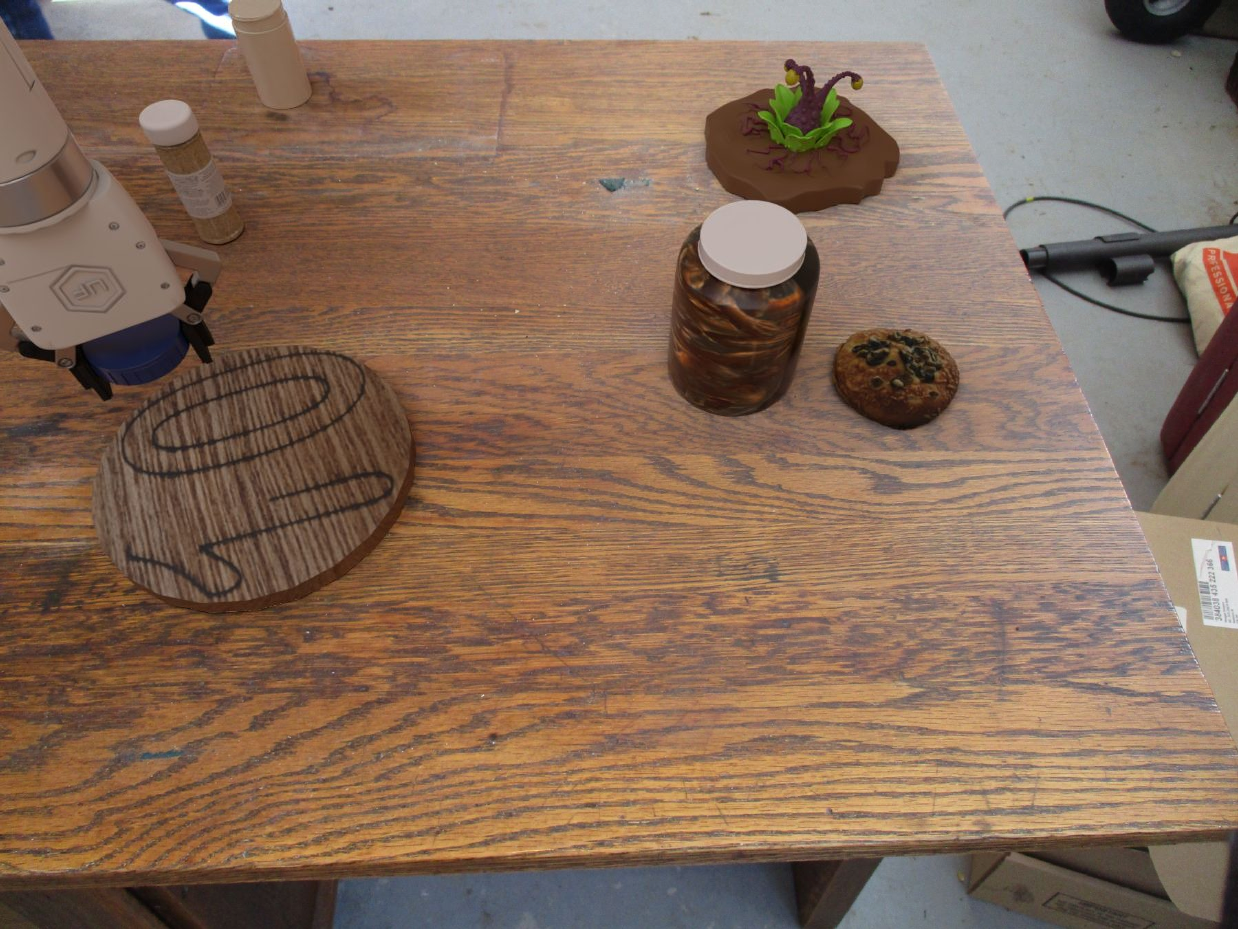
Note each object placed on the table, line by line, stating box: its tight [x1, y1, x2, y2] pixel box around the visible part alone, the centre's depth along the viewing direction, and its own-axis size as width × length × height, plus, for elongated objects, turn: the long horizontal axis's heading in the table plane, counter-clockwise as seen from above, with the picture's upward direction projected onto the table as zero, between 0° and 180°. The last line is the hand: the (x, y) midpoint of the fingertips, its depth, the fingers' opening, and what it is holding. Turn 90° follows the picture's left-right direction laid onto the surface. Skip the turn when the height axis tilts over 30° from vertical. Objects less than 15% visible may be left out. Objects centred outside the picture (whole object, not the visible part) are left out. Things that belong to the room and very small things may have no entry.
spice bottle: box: [138, 99, 245, 245], centre depth 80 cm, size 5×5×14 cm
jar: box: [667, 199, 821, 417], centre depth 69 cm, size 12×12×15 cm
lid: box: [82, 313, 191, 387], centre depth 62 cm, size 7×7×2 cm
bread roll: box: [831, 327, 961, 431], centre depth 73 cm, size 11×11×5 cm
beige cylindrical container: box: [227, 0, 313, 110], centre depth 94 cm, size 6×6×11 cm
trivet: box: [91, 344, 417, 613], centre depth 68 cm, size 25×25×2 cm
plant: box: [704, 58, 901, 215], centre depth 88 cm, size 20×20×11 cm
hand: (155, 368), depth 64 cm, fingers closed on lid, 6 cm apart
